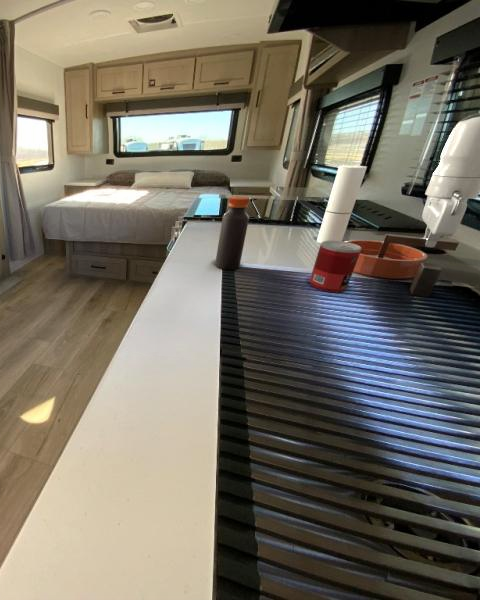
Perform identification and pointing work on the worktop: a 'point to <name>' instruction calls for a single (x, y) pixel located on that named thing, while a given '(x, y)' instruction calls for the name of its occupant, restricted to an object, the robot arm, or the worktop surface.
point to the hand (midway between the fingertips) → (428, 244)
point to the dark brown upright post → (425, 279)
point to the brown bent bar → (413, 243)
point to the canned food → (334, 265)
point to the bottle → (232, 234)
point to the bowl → (388, 260)
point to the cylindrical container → (341, 203)
